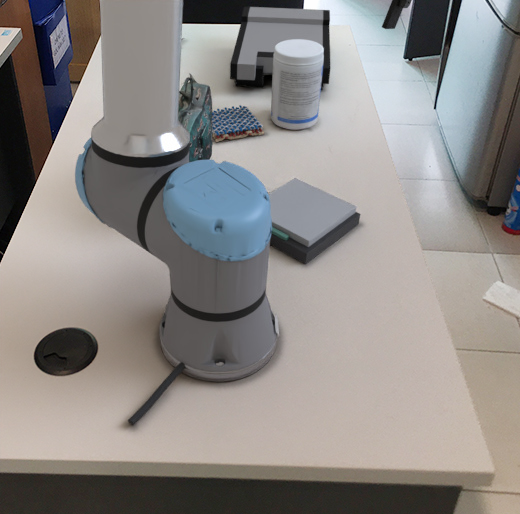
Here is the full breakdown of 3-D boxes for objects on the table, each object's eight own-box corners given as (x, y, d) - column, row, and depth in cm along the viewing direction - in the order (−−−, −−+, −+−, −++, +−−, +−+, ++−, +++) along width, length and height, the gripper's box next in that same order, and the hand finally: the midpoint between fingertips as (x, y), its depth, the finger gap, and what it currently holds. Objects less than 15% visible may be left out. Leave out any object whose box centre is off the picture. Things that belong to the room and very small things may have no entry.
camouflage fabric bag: (186, 165, 115) (182, 56, 101) (221, 169, 114) (221, 59, 100) (159, 229, 100) (150, 112, 87) (199, 234, 99) (196, 116, 86)
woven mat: (214, 144, 120) (214, 134, 119) (198, 119, 128) (198, 110, 127) (265, 136, 123) (266, 126, 122) (247, 112, 130) (247, 103, 129)
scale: (305, 264, 94) (307, 247, 92) (236, 226, 101) (236, 209, 99) (358, 224, 101) (361, 207, 99) (290, 191, 108) (292, 175, 106)
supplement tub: (327, 123, 127) (336, 50, 117) (289, 136, 123) (296, 61, 113) (296, 105, 133) (303, 34, 123) (260, 117, 129) (263, 44, 119)
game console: (229, 95, 136) (230, 57, 131) (243, 40, 160) (244, 6, 154) (326, 100, 134) (331, 62, 129) (325, 44, 158) (329, 10, 152)
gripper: (503, -121, 82) (430, 42, 95) (355, -169, 93) (308, -17, 106) (479, -129, 77) (406, 43, 90) (326, -179, 89) (280, -19, 101)
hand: (353, 11), depth 98 cm, fingers open, 13 cm apart
